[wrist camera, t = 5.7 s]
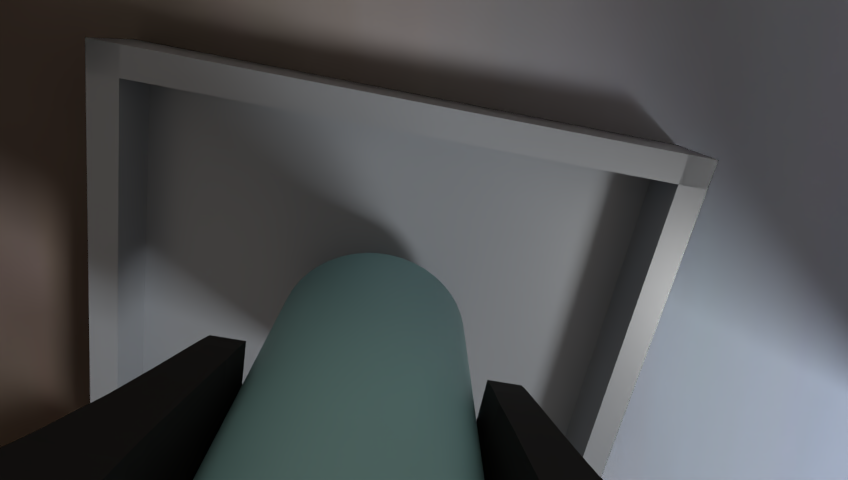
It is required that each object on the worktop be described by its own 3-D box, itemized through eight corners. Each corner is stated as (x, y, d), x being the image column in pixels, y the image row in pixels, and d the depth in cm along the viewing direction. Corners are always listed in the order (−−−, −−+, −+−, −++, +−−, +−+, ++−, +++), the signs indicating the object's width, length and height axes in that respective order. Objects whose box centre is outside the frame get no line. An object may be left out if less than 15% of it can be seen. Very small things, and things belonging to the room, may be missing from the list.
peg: (485, 274, 11) (607, 751, 4) (439, 428, 13) (464, 1003, 5) (293, 234, 11) (8, 666, 3) (268, 396, 12) (26, 957, 5)
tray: (676, 145, 12) (718, 160, 11) (558, 491, 15) (575, 545, 14) (134, 39, 11) (85, 37, 10) (129, 427, 15) (91, 476, 13)
